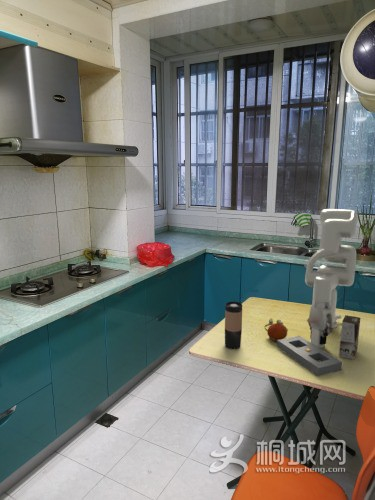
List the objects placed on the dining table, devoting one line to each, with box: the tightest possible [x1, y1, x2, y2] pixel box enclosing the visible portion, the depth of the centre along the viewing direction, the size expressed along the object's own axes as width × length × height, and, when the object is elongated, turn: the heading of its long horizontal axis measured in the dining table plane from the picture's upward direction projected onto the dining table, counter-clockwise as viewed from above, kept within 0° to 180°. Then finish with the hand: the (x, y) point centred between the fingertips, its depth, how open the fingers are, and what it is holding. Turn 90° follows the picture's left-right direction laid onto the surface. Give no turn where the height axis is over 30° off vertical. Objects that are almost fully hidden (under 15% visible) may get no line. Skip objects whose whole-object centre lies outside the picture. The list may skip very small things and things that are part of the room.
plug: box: [309, 323, 326, 349], centre depth 165 cm, size 6×6×12 cm
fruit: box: [266, 322, 288, 342], centre depth 172 cm, size 9×9×8 cm
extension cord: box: [264, 317, 288, 332], centre depth 186 cm, size 12×16×2 cm
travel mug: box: [224, 301, 243, 350], centre depth 164 cm, size 8×8×20 cm
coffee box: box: [338, 314, 361, 360], centre depth 157 cm, size 9×6×16 cm
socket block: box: [276, 335, 343, 377], centre depth 155 cm, size 12×26×4 cm, turn 23°
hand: (318, 340), depth 165 cm, fingers open, 5 cm apart
